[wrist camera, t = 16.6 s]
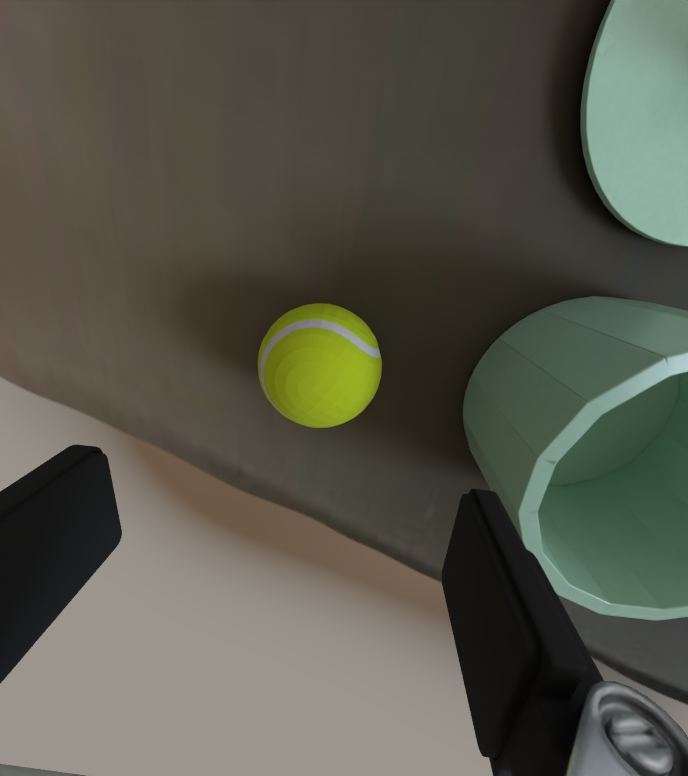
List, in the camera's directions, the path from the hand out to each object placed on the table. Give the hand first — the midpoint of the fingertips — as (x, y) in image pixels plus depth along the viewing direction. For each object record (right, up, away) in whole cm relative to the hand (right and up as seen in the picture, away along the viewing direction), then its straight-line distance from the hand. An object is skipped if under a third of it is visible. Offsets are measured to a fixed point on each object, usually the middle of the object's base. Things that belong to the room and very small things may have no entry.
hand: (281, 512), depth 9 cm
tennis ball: (+1, +6, +13) cm, 14 cm away
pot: (+16, +2, +13) cm, 21 cm away
